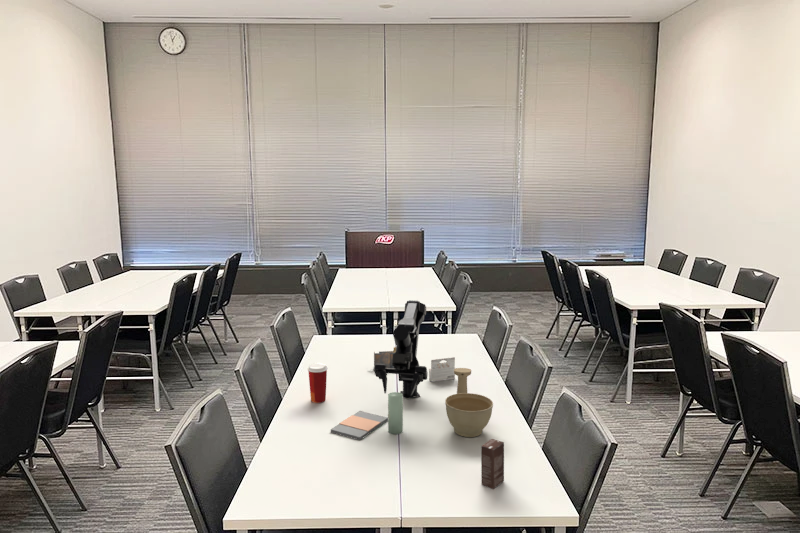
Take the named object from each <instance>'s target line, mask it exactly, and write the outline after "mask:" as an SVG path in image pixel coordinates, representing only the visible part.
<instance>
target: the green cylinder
mask: <svg viewBox="0 0 800 533" xmlns="http://www.w3.org/2000/svg"><path fill="white" fill-rule="evenodd" d="M387 406H388V407H387V417H388V420H387V432H388V433H389V434H390V435H391V434H392V435H399V434H402V433H403V432H404V431H403V430H404V422H403V421H404V418H403V417H404V397H403V394H402V393H400V392H398V391H397V392H396V391H392V392H390V393H388V395H387Z"/></svg>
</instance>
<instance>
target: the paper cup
mask: <svg viewBox="0 0 800 533" xmlns="http://www.w3.org/2000/svg"><path fill="white" fill-rule="evenodd" d="M307 371H308V382H309V394H310V395H309V396H310V401H311V403H313V404H321V403H324V402H325V401H326V398H327V397H326V395H327V374H328V373H327V372H328V366H327V364H325V363H321V362H314V363H311V364H309V365H308V367H307Z"/></svg>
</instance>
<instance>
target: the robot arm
mask: <svg viewBox="0 0 800 533" xmlns="http://www.w3.org/2000/svg"><path fill="white" fill-rule="evenodd" d="M426 315H427V306H426V304H425V303H422V302H420V301H419V300H407V301H406V303H405V304H404V316H403V318H401V319H400V320H398V323H397V324H396V325H395V328H394V329H393V332H392V336H393V341H394V344H395V347H396V352H395V354H393V355H392V366H394V367H393V368H387V367H386V364H375V366H374V365H373V373H374V375H375V377H377V378H378V379H379V380H381V381H382V387H383V393H384V394H387V390H388V389H387V387H388V377H387V376H388V374H393V375H394V374H396V375H397V376H398V382H402V390H400V392H399V393H402V394H403V399H411V398H418V397H421V394H420V393H419V392H418V386H419V385H420V383H421V382H424V381H426V380H427V381H428V377H429V372H428V369H427V367H426V365H420V364H419V361H418V358H417V354H418V344H419V335H420V334H419V333H420V326H421V325H422V324H423V323H424V321H425V316H426Z"/></svg>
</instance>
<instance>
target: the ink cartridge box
mask: <svg viewBox="0 0 800 533" xmlns="http://www.w3.org/2000/svg"><path fill="white" fill-rule="evenodd" d="M442 361H446V362H442ZM430 362H431V363H430V368H429V369H428V380H429V382H439V381H450V380H455V379H456V375H455V374H454V369H455V368H456V367H455V365H456V357H447V358H436V359H431V361H430Z"/></svg>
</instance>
